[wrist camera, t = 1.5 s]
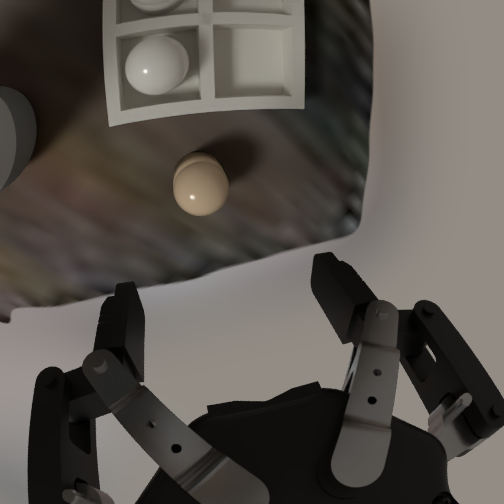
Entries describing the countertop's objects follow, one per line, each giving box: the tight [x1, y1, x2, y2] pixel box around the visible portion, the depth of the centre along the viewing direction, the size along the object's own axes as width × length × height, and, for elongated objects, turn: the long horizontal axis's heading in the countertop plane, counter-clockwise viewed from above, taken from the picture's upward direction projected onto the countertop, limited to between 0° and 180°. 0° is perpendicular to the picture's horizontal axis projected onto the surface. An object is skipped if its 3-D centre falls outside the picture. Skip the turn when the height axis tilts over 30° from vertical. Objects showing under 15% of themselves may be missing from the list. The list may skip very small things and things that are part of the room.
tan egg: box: [173, 152, 229, 216], centre depth 23 cm, size 4×4×6 cm
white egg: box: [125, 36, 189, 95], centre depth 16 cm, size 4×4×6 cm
